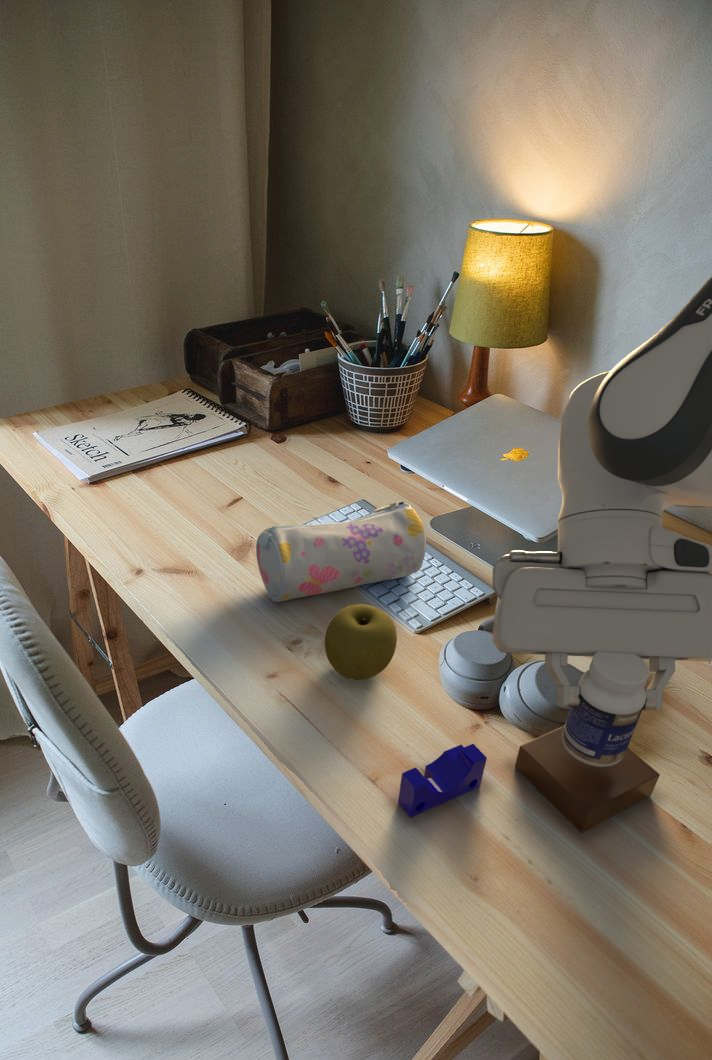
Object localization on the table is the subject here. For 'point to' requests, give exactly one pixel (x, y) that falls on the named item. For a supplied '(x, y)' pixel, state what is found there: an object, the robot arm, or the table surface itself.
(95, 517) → the table surface
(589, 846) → the table surface
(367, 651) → the apple
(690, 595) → the robot arm
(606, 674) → the pill bottle
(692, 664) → the table surface
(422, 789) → the cable holder
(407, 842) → the table surface
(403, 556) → the pencil case
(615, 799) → the block
